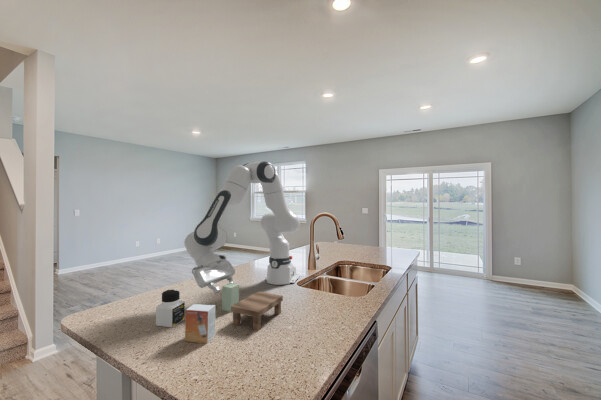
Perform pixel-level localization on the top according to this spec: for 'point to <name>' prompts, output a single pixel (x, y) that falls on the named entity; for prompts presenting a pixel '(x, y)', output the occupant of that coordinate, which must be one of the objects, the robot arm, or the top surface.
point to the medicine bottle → (170, 309)
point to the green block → (229, 296)
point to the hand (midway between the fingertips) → (225, 288)
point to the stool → (256, 307)
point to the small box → (200, 323)
